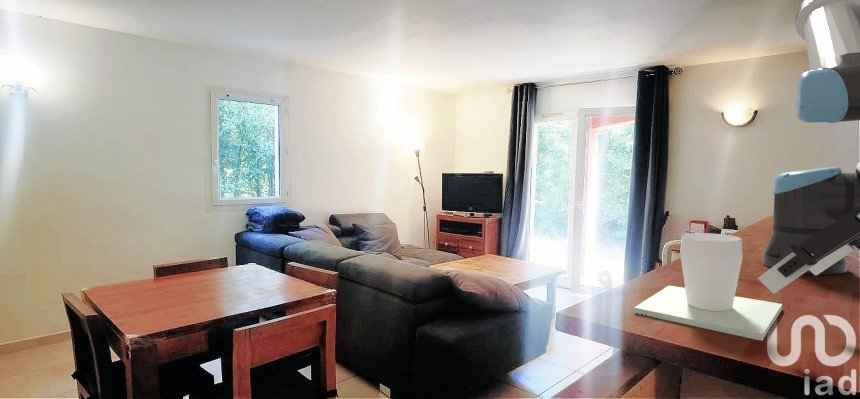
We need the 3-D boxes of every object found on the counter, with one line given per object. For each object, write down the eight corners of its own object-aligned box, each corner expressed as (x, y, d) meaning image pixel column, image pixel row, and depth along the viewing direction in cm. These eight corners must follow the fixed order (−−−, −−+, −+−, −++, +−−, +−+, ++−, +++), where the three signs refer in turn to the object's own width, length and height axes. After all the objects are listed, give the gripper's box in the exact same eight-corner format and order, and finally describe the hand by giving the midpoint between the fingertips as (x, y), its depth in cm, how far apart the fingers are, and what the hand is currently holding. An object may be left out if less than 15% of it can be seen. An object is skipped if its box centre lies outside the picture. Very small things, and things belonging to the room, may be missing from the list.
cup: (751, 315, 70) (754, 242, 69) (690, 313, 72) (691, 241, 71) (726, 298, 79) (728, 233, 78) (672, 296, 81) (673, 232, 80)
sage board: (668, 290, 88) (669, 285, 88) (782, 309, 76) (782, 304, 76) (634, 313, 76) (634, 307, 76) (762, 341, 63) (762, 334, 63)
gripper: (936, 208, 44) (769, 317, 58) (996, 185, 56) (845, 280, 70) (864, 159, 48) (724, 271, 62) (934, 148, 60) (803, 244, 74)
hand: (788, 276), depth 66 cm, fingers open, 13 cm apart
